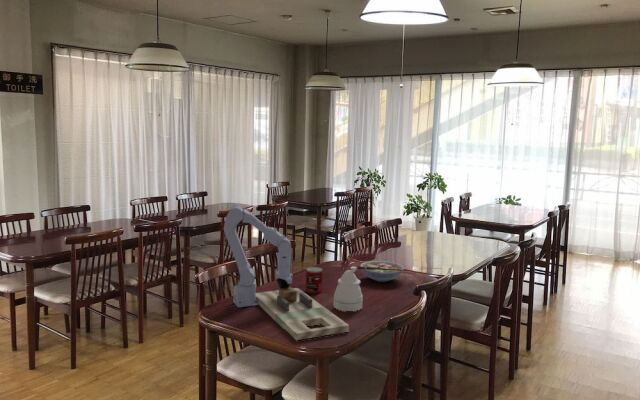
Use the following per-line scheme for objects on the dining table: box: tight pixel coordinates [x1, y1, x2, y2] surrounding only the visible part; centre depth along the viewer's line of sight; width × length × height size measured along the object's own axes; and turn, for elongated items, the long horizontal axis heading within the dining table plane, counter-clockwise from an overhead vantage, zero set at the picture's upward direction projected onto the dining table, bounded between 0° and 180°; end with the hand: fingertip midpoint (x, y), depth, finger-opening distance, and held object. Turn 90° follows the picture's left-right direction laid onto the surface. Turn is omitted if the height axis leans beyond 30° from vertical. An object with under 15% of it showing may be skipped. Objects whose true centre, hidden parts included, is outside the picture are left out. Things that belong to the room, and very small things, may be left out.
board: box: [256, 287, 350, 342], centre depth 218 cm, size 22×50×6 cm, turn 26°
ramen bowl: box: [357, 260, 408, 283], centre depth 271 cm, size 25×23×8 cm
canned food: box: [305, 266, 323, 294], centre depth 249 cm, size 8×8×11 cm
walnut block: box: [278, 286, 297, 302], centre depth 227 cm, size 6×6×4 cm
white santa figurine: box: [333, 266, 364, 312], centre depth 229 cm, size 13×13×18 cm
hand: (283, 294), depth 232 cm, fingers closed
